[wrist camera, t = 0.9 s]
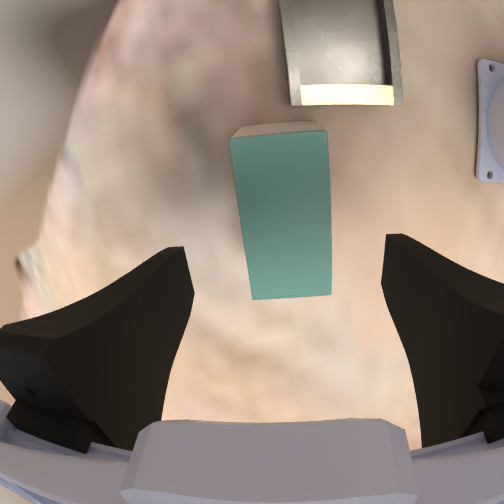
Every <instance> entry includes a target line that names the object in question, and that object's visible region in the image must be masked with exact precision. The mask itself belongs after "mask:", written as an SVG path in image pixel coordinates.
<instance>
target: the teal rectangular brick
mask: <svg viewBox="0 0 504 504" xmlns="http://www.w3.org/2000/svg"><path fill="white" fill-rule="evenodd" d="M229 146H230V153H231V160H232V167H233V174H234V180H235V187H236V194H237V201H238V207H239V214H240V221H241V227H242V234H243V241H244V247H245V254H246V260H247V267H248V274H249V280H250V287H251V293H252V300H261V299H279V298H295V297H310V296H324V295H331V287H332V235H331V196H330V173H329V155H328V139H327V131H326V130H325V129H324V128H323V127H322V126H320V125H319V124H318V123H317V122H316V121H315V120H307V121H292V122H280V123H269V124H259V125H249V126H242V127H241V128H240V129H239V130H238V131H237V132H236V133H235V134H234V135H233V136H232V137H231V138H230V139H229Z"/></svg>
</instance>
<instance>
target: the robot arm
mask: <svg viewBox="0 0 504 504" xmlns="http://www.w3.org/2000/svg"><path fill="white" fill-rule="evenodd" d="M489 65H490V66H491V68H492V71H490V69H489ZM477 68H478V87H479V134H478V154H477V167H476V177H477V179H478V180H479V181H481V182H489V183H504V64H502V63H498V62H495V61H491V60H487V59H480V60H479V61H478V63H477ZM488 172H490V174H489V176H488V177H487V173H488ZM381 285H382V289H383V293H384V297H385V300H386V304H387V307H388V310H389V312H390V314H391V317H392V319H393V322H394V324H395V327H396V329H397V332H398V334H399V337H400V339H401V342H402V344H403V347H404V349H405V352H406V355H407V358H408V361H409V365H410V369H411V374H412V378H413V383H414V388H415V393H416V399H417V405H418V412H419V420H420V428H421V440H422V448H421V449H417V450H412V451H409V446H408V441H407V437H406V432H405V429H402V428H400V427H398V426H396V425H394V424H392V423H390V422H388V421H385V420H382V419H358V418H347V419H337V420H324V421H309V422H284V423H239V422H214V421H198V420H167V421H161V418H162V411H163V405H164V400H165V394H166V389H167V385H168V380H169V375H170V371H171V368H172V365H173V361H174V359H175V356H176V353H177V350H178V348H179V345H180V342H181V339H182V337H183V334H184V331H185V328H186V326H187V323H188V320H189V317H190V313H191V309H192V304H193V299H194V294H195V293H194V289H193V285H192V280H191V276H190V272H189V268H188V264H187V259H186V255H185V251H184V246H182V247H168V248H166V249H164V250H162V251H160V252H158V253H157V254H155V255H154V256H152V257H151V258H149V259H148V260H146V261H145V262H143V263H142V264H140V265H139V266H137V267H136V268H135V269H133V270H132V271H130V272H129V273H127V274H125V275H124V276H122V277H121V278H119V279H118V280H116V281H115V282H113V283H111V284H110V285H108V286H107V287H105V288H103V289H101V290H99V291H98V292H96V293H94V294H92V295H90V296H88V297H86V298H84V299H82V300H80V301H77V302H75V303H73V304H70V305H68V306H66V307H64V308H61V309H59V310H56V311H53V312H50V313H47V314H44V315H41V316H38V317H35V318H31V319H27V320H23V321H19V322H15V323H11V324H6V325H4V326H3V327H2V328H1V329H0V381H1V382H2V383H3V385H4V386H5V387H6V388H7V390H8V391H9V392H10V393H11V395H12V396H13V397H14V398H15V399H16V401H15V403H14V404H13V406H12V407H11V406H10V405H9V404H8V403H6V402H4V401H2V400H0V484H1V485H2V486H4V487H6V488H7V489H9V490H11V491H12V492H14V493H16V494H18V495H19V496H21V497H22V498H24V499H26V500H28V501H30V502H31V503H33V504H504V284H503V283H500V282H497V281H495V280H492V279H489V278H487V277H485V276H482V275H480V274H478V273H475V272H473V271H471V270H469V269H467V268H465V267H463V266H461V265H459V264H457V263H455V262H453V261H451V260H449V259H448V258H446V257H444V256H442V255H441V254H439V253H437V252H435V251H434V250H432V249H430V248H429V247H427V246H425V245H423V244H422V243H420V242H418V241H416V240H415V239H413V238H411V237H409V236H407V235H404V234H386V241H385V252H384V262H383V271H382V279H381Z"/></svg>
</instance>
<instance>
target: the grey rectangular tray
mask: <svg viewBox="0 0 504 504" xmlns="http://www.w3.org/2000/svg"><path fill="white" fill-rule="evenodd" d="M278 3H279V10H280V18H281V25H282V33H283V41H284V50H285V59H286V67H287V77H288V86H289V96H290V104H291V106H303V105H332V104H370V105H398V106H403V96H402V78H401V65H400V54H399V44H398V35H397V27H396V20H395V13H394V7H393V1H392V0H278Z"/></svg>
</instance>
